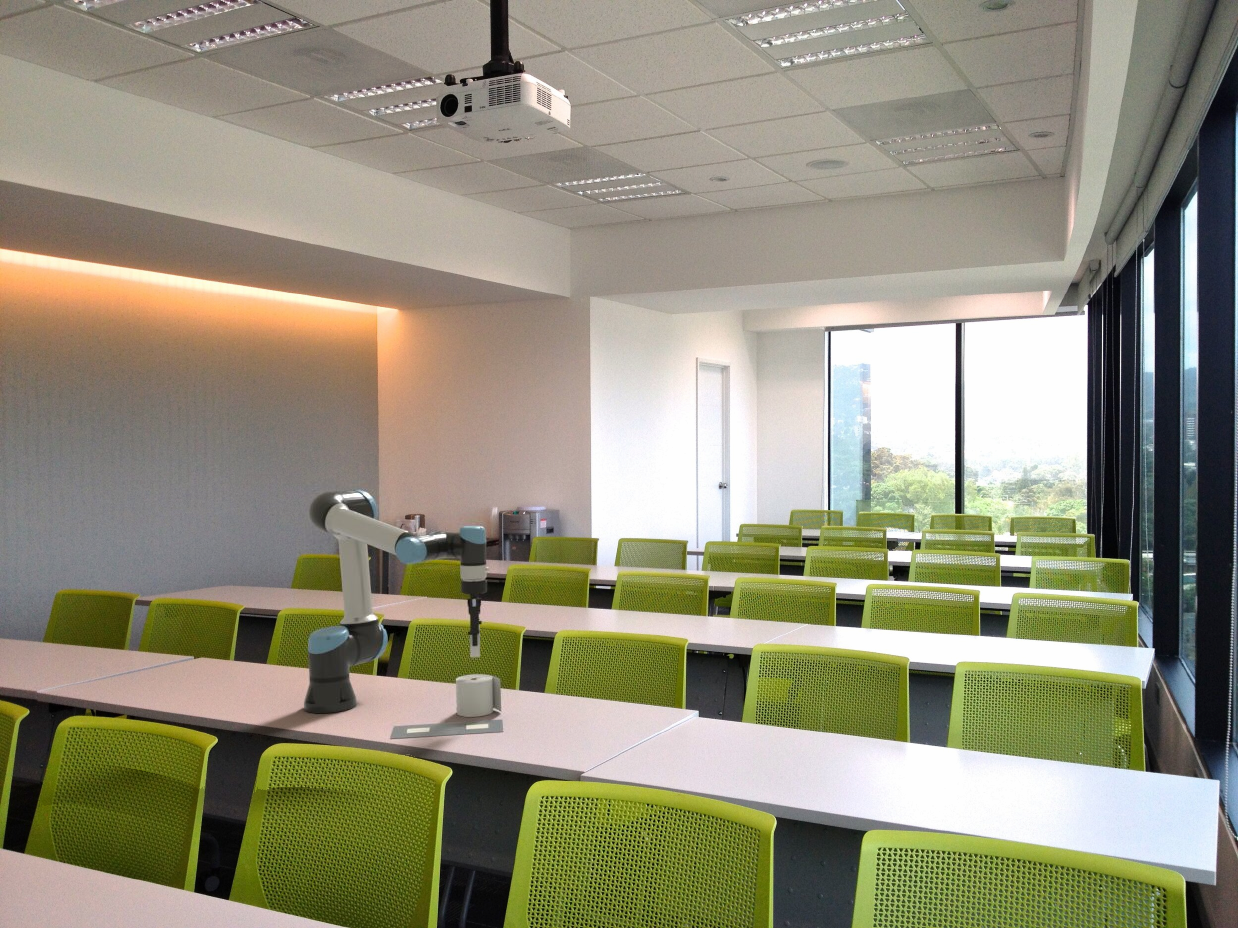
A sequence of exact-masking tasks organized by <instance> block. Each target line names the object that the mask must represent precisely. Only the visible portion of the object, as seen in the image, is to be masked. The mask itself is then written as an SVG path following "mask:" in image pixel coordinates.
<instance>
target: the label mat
mask: <svg viewBox="0 0 1238 928" xmlns="http://www.w3.org/2000/svg"><path fill="white" fill-rule="evenodd" d="M488 733H489V734H491V733H492V734H493V733H504V721H503V719H489V720H472V721H471V720H470V721H457V722H456V721H455V722H442V723H441V722H440V723H424V724H423V723H422V724H421V723H420V724H407V725H405V724H404V725H395V726H393V728H392V731H391V735H390V738H389V739H390V740H395V739H411V738H412V739H413V738H425V737H426V738H427V737H442V736H456V735H457V736H459V735H474V734H488Z"/></svg>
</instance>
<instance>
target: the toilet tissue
mask: <svg viewBox="0 0 1238 928" xmlns="http://www.w3.org/2000/svg"><path fill="white" fill-rule="evenodd" d="M501 682H502V681H501V678H499V677H497V676H495V675H494V676H493V675H491V674H483V673H481V674H479V673H478V674H477V673H475V674H473V673H472V674H466V675H465V674H464V675H461V676H458V677H456V679H455V690H456V691H455V692H456V694H455V695H456V699H455V700H456V703H455V704H456V714H457V715H458V716H460V717H465V718H466V717H467V718H473V717H474V718H476V717H483V716H488V715H490V714H492V713H493V712H494V709H495V710H498V711H499V712H502V694H501V693H502V691H501V690H502V689H501Z"/></svg>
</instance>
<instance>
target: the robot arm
mask: <svg viewBox="0 0 1238 928" xmlns="http://www.w3.org/2000/svg"><path fill="white" fill-rule="evenodd" d="M376 503H377V502H376V501H375V499H374V497H373V496H372V495H370V493H368V492H367V491H364V490H362V489H361V490H360V489H349V490H339V491H338V490H337V491H326V492H323V493H320V494H318V495H317V496H316V497H315V498H314V499H313V500H312V501H311V503H310V505H309V510H308V514H309V515H308V517H309V519H310V521H311V523H312V524H313V525H314V526H315V527H316V528H317V529H319V530H321V531H323V532H326V533H328V534H330V535H333V537H334V538H336V540H337V542H338V552H339V562H340V563H339V564H340V574H341V578H340V579H341V586H342V587H341V589H342V590H341V591H342V600H343V603H342V604H343V614H344V616H343V618H342V619H341V620H340V622H339V625H331V626H327V627H322V628H319V629H316V630H314V631H313V632H312V633H310V635H309V637H308V645H307V651H308V652H307V653H308V655H307V657H308V675H309V676H308V677H309V678H308V679H309V682H308V683H309V684H308V687H307V690H306V695H305V698H304V701H303V709H304V711H306V712H308V713H313V714H330V713H332V714H333V713H338V712H344V711H347V710H350V709H352V708H354V707H356V706H357V696H356V694H355V691H354V688H353V686H352V683H351V679H350V678H351V677H350V667H351V668H352V667H354V666H357V665H361V664H364V663H370V662H372V661H374V660H377V659H378V658H380V657H381V656H382V655H383V654H384V652H385V651H386V649H387V646H388V639H389V638H388V633H387V630H386V628H384V625H382V623H379V617H378V616H377V615H376V614H374V613H373V600H372V589H371V588H372V587H371V574H370V565H369V564H370V563H369V552H368V545H369V546H371V547H374V548H377V549H379V550H382V551H384V552H387V553H390V554H392V555H394V556H396V557H397V559H398V560H399V561H400V563H402V564H405V565H416V564H419V563H424V562H430V561H436V560H441V559H460V560H459V561H460V565H459V566H460V567H459V568H460V569H459V571H460V579H461V581H460V592H461V594H464V595H469V596H470V597H469V598H467V607H468V615H469V624H470V625H469V626H470V627H469V628H470V629H469V631H467V635H468V636H469V650H470V653H469V655H470V656H469V657H470V658H480V657H481V632H480V631H481V628H480V625H483V624H482V623H483V622H482V620H480V615H481V606H482V598H481V597H480V598H479V596H480V594H483V595H484V594H485V593H487V592H488V581H487V579H486V578H487V576H488V575H487V574H488V573H487V572H488V571H489V570H490V568H489V566H488V567H487V535H486V534H487V533H486V528H485V527H484V526H482V525H464V526H460V529H459V532H451V531H450V532H449V531H448V532H447V531H442V530H441V531H432V532H430V533H428V534H421V535H418V534H415V533H412V532H410V531H408V530H405V529H402V528H400V527H397V526H394V525H391V524H389V523H387V522H384V521H381V520H378V519H376V518H377V517H378V507H377V504H376Z"/></svg>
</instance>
